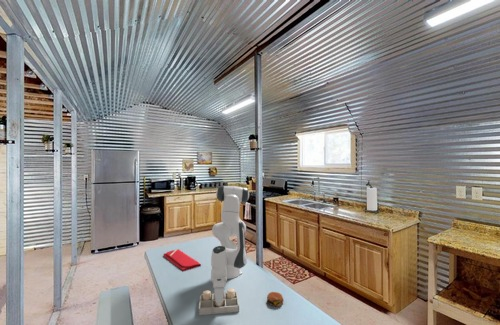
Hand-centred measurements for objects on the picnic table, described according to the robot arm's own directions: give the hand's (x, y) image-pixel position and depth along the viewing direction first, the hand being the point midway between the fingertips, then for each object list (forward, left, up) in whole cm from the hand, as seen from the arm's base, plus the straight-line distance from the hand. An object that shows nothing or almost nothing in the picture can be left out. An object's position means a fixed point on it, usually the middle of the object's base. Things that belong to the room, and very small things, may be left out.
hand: (219, 301), depth 133 cm
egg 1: (-7, -7, -4) cm, 11 cm away
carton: (-3, 0, -5) cm, 6 cm away
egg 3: (-7, +7, -4) cm, 11 cm away
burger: (-3, +33, -5) cm, 33 cm away
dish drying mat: (-74, -31, -5) cm, 80 cm away
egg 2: (0, 0, -2) cm, 2 cm away
